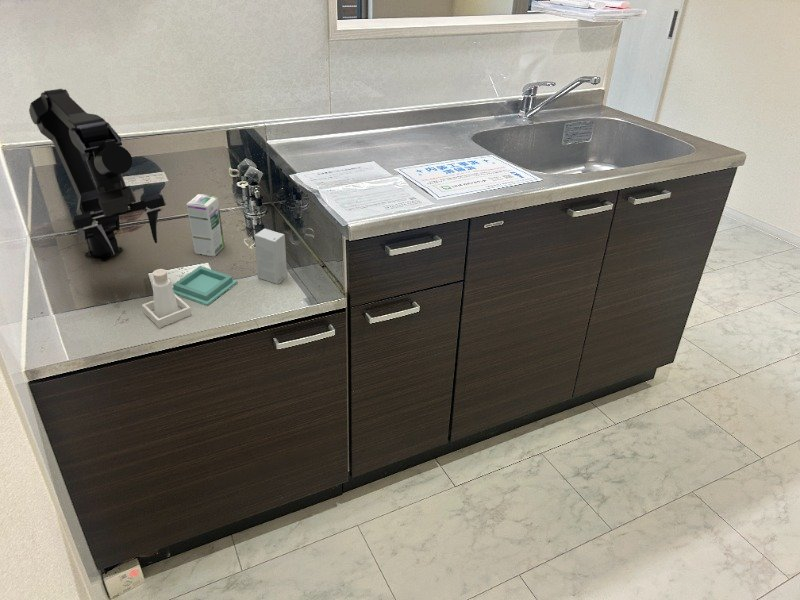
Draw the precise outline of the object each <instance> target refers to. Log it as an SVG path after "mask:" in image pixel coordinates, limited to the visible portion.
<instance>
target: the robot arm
mask: <svg viewBox="0 0 800 600" xmlns="http://www.w3.org/2000/svg"><path fill="white" fill-rule="evenodd" d="M28 111H29V112H28V113H29V116H30V119H31V121H32V122H33V124H34V125H36V127H37V128H38V130H39V132H40V133H41V135H43V137H46V139H48V140H50V141H51V142H52V143H53V145H54V148H55V150H56V152H57V155H58V156H59V158H60V161H61V163H62V166H63V167H64V170H65V172H66V174H67V178H69V181H70V183H71V186H72V187H73V190H74V192H75V194H76V197H77V199H78V200H77V207H76V215H73V216H72V218H71V222H72V224H73V227H74V229H75V230H76V231H77V234H79V235H80V236H81V237H82V238H83V239H84V240H85V241H86V243H87V246H88V251H87V252H85V253H84V256H85V257H88V258H91V259H95V260H98V261H99V260H100V261H101V262H106V261H109V260H110V259H112V258H113V257H115V256H116V255H118V254H120V253H121V252H122V251H124V247H121V246H119V244H118V240H117V237H116V236H115V232H116V231H120V228H121V226H120V216H123V215H126V214H130V213H133V212H134V213H135V212H137V211H141V210H145V209H146V210H147V211H146V216H147V219H148V222H149V227H150V231H151V236H152V240H153V241H154V243H155V244H158V226H157V225H158V216H159V212H161V211H163V208H162V207H164V206H167V205H168V204H167V201H166V198H165V195H164V194H162V193H156V194H153V195H152V194H151V195H149V196H145V197H143V200H141V201H137V199H136V196H135V193H134V191H133V189H132V186H131V185H126V182H125V179H124V176H123V174H125V173H127V172H128V171H129V170H130V169H131V167H132V165H133V157H132V155H131V153H130V152H129V151H128V150H127V149H126V148H125V147H123V146H122V145H123V143H122V138H121V136H120V135H119V134H118V132H116V130H115V129H114V128H113V127H112V126H111V125H110V124H109V122H108V121H106V120H105V118H103V117H101V116H100V115H98V114H94V113H88V112H87V111H85V110H84V109H83V108H82V107H81V106H80V105H79V104H78V103H77V102H76V101H75V100H74V99H73V98H72V97H71V96H70V93H69V92H68V90H67V89H66V88H65V89H64V88H58V89H57V88H56V89H50V90H49V89H48V90H44V91H42V92H41V93H40V96H39V97H37V98H36V99H35V100H33V101H31V103H30V105H29V109H28ZM84 154H85V155H86V154H87V155H86V156H85V161H84V158H83V156H82V155H84ZM136 201H137V202H136Z"/></svg>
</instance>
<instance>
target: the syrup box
mask: <svg viewBox="0 0 800 600" xmlns="http://www.w3.org/2000/svg"><path fill="white" fill-rule="evenodd" d="M186 209H187V210H186V211H187V215H188V220H189V226H190V232H191V233H190V234H191V239H192V244H193V249H194V251H193V252H194V254H197V255H200V254H202V255H203V256H206V255H207V257H212V258H213V257H214V258H215V257H216V256H217V255H218V254H219V252H220V251H221V250H222V249H223V248H224V247H225V242H224V240H225V239H224V232H223V226H222V218H221V211H220V203H219V198H218V196H215V195H214V196H213V195H211V194H210V195H209V194H202V193H201V194H200V193H198V194H197V193H196V196H194V197H193V198H192V199H190V200H189V201H188V202H187V203H186Z"/></svg>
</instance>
